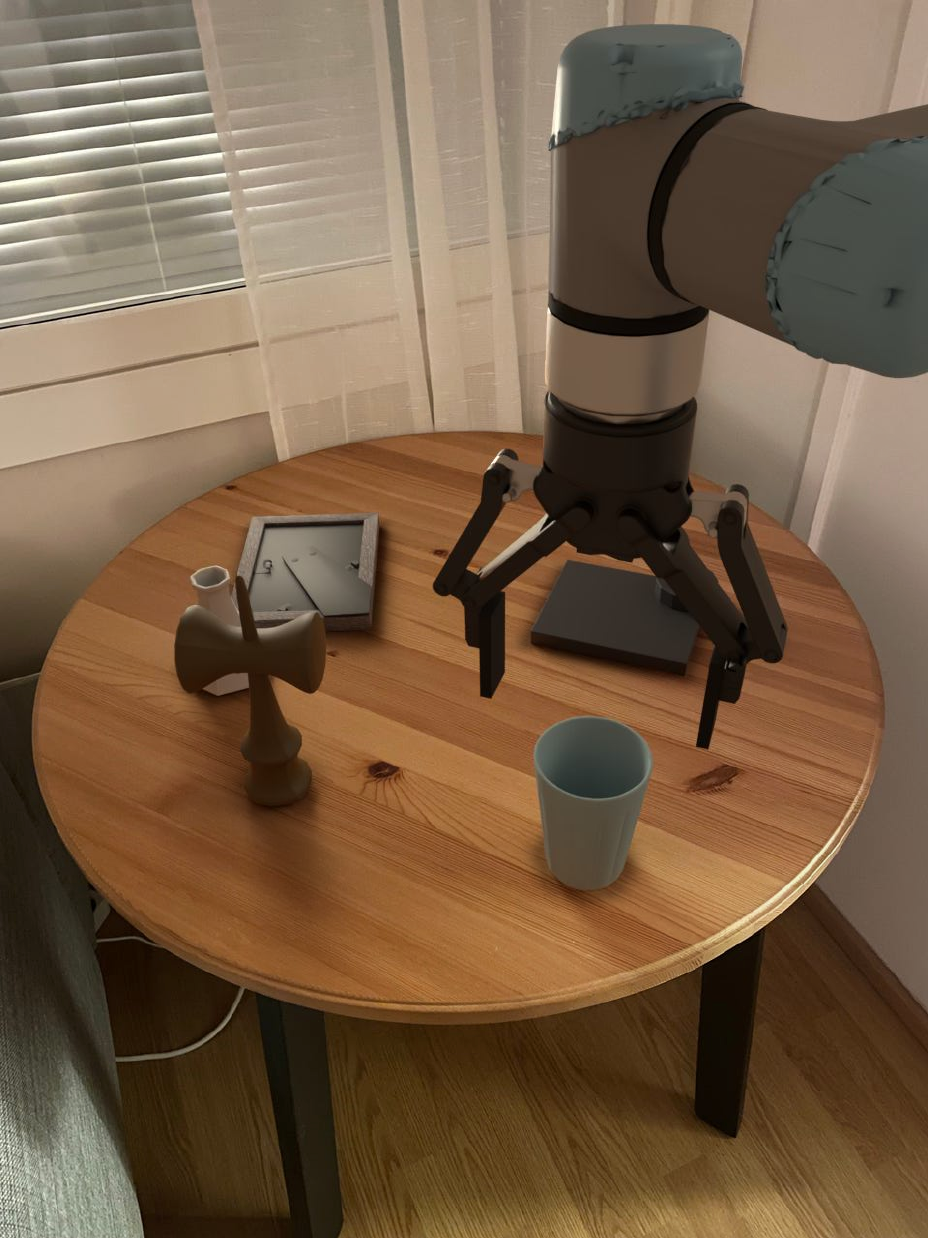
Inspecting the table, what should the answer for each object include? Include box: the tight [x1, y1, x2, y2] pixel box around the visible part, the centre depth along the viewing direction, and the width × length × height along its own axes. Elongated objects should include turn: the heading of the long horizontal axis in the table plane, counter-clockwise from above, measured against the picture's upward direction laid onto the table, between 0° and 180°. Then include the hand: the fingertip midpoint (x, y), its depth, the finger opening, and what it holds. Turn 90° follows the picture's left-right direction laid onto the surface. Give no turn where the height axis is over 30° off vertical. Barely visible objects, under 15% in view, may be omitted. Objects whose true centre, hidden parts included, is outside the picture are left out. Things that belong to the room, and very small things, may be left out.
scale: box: [530, 559, 719, 676], centre depth 92 cm, size 15×13×3 cm
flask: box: [189, 565, 249, 697], centre depth 86 cm, size 7×7×10 cm
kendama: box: [173, 574, 327, 807], centre depth 71 cm, size 6×10×20 cm, turn 86°
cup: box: [533, 715, 654, 891], centre depth 68 cm, size 8×8×10 cm
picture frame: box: [230, 512, 380, 632], centre depth 99 cm, size 13×2×18 cm
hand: (595, 708), depth 62 cm, fingers open, 13 cm apart
